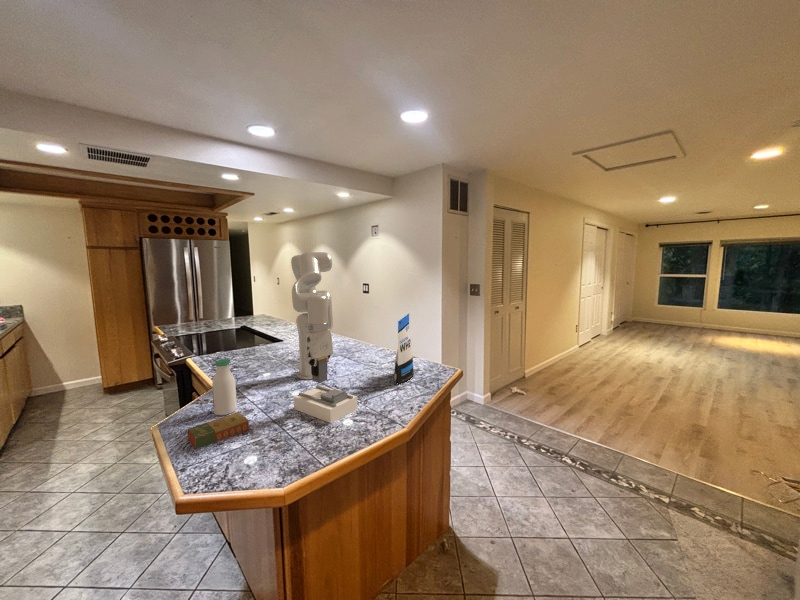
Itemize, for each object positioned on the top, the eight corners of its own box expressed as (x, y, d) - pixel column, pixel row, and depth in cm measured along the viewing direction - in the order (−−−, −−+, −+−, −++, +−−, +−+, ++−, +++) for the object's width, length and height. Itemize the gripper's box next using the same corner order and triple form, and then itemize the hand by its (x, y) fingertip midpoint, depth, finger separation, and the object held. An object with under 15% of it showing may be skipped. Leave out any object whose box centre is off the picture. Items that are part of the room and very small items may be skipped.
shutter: (320, 400, 123) (320, 392, 122) (334, 393, 128) (334, 386, 128) (334, 404, 119) (333, 396, 118) (347, 398, 125) (347, 390, 124)
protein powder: (388, 384, 152) (388, 321, 148) (400, 368, 175) (400, 313, 172) (408, 386, 150) (408, 321, 146) (417, 369, 173) (418, 313, 170)
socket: (294, 409, 127) (293, 394, 126) (321, 396, 138) (321, 383, 138) (330, 423, 116) (330, 407, 115) (357, 408, 127) (357, 394, 126)
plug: (319, 383, 124) (318, 356, 123) (311, 381, 127) (310, 354, 125) (328, 379, 128) (327, 353, 127) (320, 377, 130) (319, 351, 129)
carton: (249, 431, 111) (248, 419, 111) (195, 450, 99) (194, 437, 99) (239, 422, 117) (238, 411, 116) (187, 440, 105) (186, 427, 104)
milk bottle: (241, 408, 127) (238, 358, 125) (225, 417, 120) (221, 364, 118) (226, 405, 130) (223, 356, 127) (209, 414, 122) (205, 362, 120)
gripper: (307, 332, 116) (309, 382, 118) (341, 324, 130) (342, 369, 132) (293, 329, 120) (295, 378, 122) (327, 323, 134) (328, 366, 136)
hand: (319, 373), depth 127 cm, fingers closed on plug, 4 cm apart
